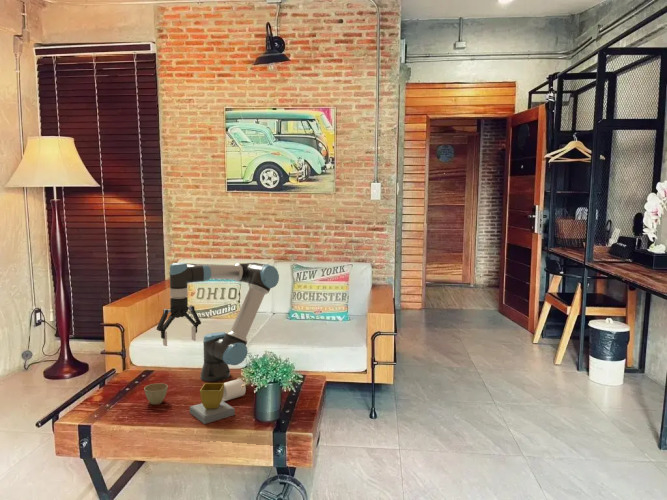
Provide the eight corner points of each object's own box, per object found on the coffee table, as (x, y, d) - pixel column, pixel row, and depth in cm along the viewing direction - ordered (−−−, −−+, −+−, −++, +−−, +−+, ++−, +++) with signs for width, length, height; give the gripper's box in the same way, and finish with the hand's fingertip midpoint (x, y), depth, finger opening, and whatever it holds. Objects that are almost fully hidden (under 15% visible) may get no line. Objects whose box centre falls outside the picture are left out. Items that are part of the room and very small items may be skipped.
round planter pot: (160, 407, 212) (159, 392, 211) (139, 405, 214) (139, 390, 213) (172, 399, 222) (171, 384, 221) (152, 397, 224) (152, 382, 223)
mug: (245, 397, 225) (245, 381, 224) (227, 403, 218) (227, 386, 217) (231, 390, 233) (231, 374, 232) (213, 395, 226) (213, 379, 226)
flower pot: (199, 411, 202) (199, 390, 201) (204, 402, 211) (204, 382, 210) (220, 411, 202) (220, 390, 202) (224, 402, 211) (224, 383, 210)
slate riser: (219, 404, 216) (219, 397, 216) (234, 414, 206) (234, 408, 206) (189, 412, 207) (189, 406, 207) (204, 424, 197) (204, 417, 197)
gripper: (200, 292, 229) (201, 336, 231) (148, 298, 212) (149, 345, 214) (208, 295, 223) (208, 339, 225) (154, 301, 207) (155, 349, 209)
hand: (179, 342), depth 220 cm, fingers open, 13 cm apart
